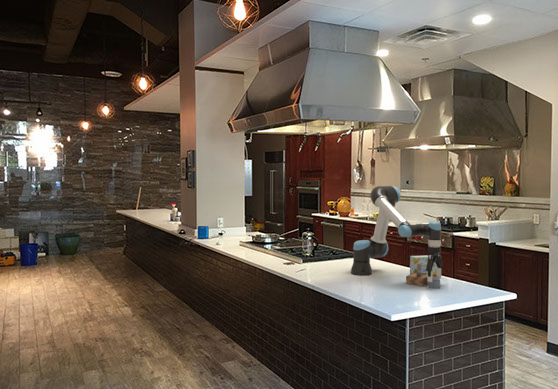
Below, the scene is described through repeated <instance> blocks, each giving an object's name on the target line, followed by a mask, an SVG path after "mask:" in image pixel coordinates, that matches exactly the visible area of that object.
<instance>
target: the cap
mask: <svg viewBox="0 0 558 389" xmlns="http://www.w3.org/2000/svg"><path fill="white" fill-rule="evenodd" d="M427 287H428V288H429V289H440V288H441V279H440V278H439V277H432V282H428V285H427Z"/></svg>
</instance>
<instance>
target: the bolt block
mask: <svg viewBox="0 0 558 389" xmlns="http://www.w3.org/2000/svg"><path fill="white" fill-rule="evenodd" d="M405 282H406V283H405V285H411V286H418V287H427V286H428V275H423V274H422V264H421V263H417V269H416V273H414V274H411V275H410V274H408V275H406V277H405Z"/></svg>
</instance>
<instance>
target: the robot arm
mask: <svg viewBox="0 0 558 389" xmlns="http://www.w3.org/2000/svg"><path fill="white" fill-rule="evenodd" d="M369 196H370V200H371V202H372V204H373V205H374V206H375V207H376V208H379V209H378V213H377V218H376V223H375V227H374V233H373V236H371V237H370V240H368V239H362V240H361V239H360V240H356V241H354V243H353V247H352V250H353V258H352V259H353V262H352V266H351V269H350V273H351V274H352V275H354V276H355V275H356V276H369V275H372V274H373V269H372V268H373V267H372V266H371V259H373V258H381V257H385V256H386V255H387V254H388V251H389V244H388V241H387V240H386V238H387V237H386V236H387V232H388V228H389V223H390V222H392V223H393V225H394V226H395V227H396V229H397V232H398V235H399V236H400V237H402V238H410V237H421V236H423V237H427V238H428V241H427V242H428V244H427V245H428V251H427V252H428V253H429V254H428V261H427V266H426V271H428V282H432V268H433V265H434V263H436V265H437V277H439V278H440V280H441V279H442V269H443V267H444V264H443V260H442V253H441V252H442V247H441V246H442V241H441V240H442V225H441V222H440V221H429V222H428V224H427V223H415V224H411V223H410V222H409V221H408V220H407V219H406V218H405V217H404V216H403V215H402V214H401V213H400V212H399V211H398V210H397V208H395V207H396V204H397V203H399V201H400V200H401V192H400V189H399V188H398V187H397V186H394V185H383V186H382V185H378V186H376V187H374V188H372V190H371V192H370V195H369Z"/></svg>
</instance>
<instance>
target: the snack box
mask: <svg viewBox="0 0 558 389" xmlns="http://www.w3.org/2000/svg"><path fill="white" fill-rule="evenodd" d="M428 255H429V254H428ZM428 255H410V256H409V257H410V260H409V275H411V274H414V273H416V269H417V263H421V264H422V274H423V275H428V271H426V266H427V261H428ZM432 277H437V265H436V263H434V265H433V268H432Z"/></svg>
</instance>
